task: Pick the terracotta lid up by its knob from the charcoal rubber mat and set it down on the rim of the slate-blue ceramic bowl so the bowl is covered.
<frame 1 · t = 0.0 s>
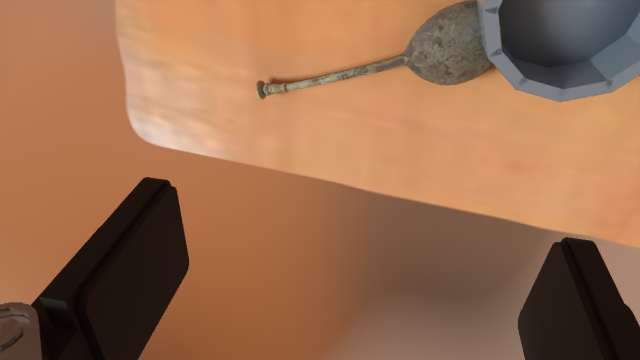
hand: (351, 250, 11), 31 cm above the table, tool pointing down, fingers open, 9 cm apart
soupspoon: (371, 59, 40), on the table, touching bowl
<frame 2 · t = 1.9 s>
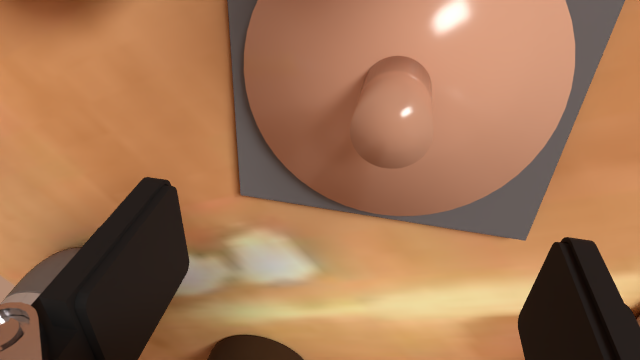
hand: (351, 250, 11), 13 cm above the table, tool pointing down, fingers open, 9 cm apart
mat: (398, 75, 22), on the table
lid: (397, 81, 22), point 1 cm above the table, touching mat
smart speaker: (107, 276, 37), on the table
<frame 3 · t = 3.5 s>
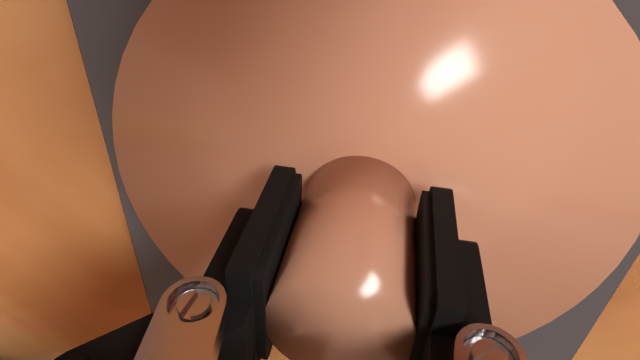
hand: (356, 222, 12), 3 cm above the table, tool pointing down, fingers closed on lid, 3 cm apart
mat: (365, 169, 14), on the table
lid: (362, 183, 14), point 1 cm above the table, touching gripper, mat
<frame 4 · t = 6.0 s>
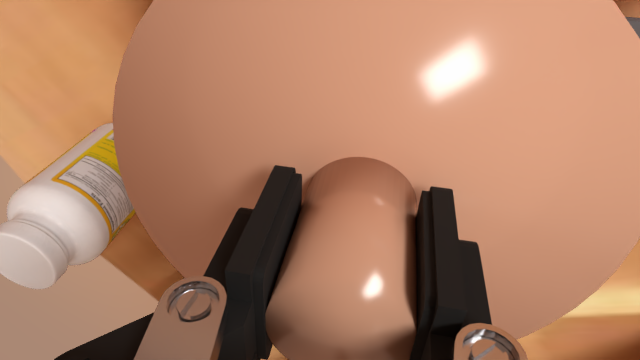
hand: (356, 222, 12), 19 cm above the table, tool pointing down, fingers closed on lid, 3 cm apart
supplement bottle: (132, 154, 37), on the table
lid: (363, 184, 14), point 17 cm above the table, touching gripper
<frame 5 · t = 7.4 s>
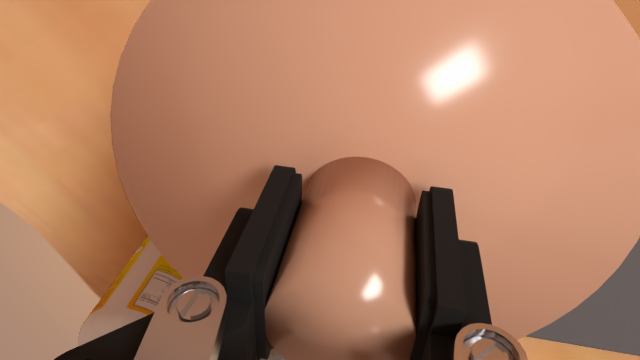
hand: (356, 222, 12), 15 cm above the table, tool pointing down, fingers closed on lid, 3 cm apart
mat: (604, 251, 29), on the table
supplement bottle: (191, 247, 36), on the table
lid: (362, 184, 14), point 13 cm above the table, touching gripper
when the fingers open (9 cm above the table, at t = 8.6 s): lid drops 1 cm, resting on bowl.
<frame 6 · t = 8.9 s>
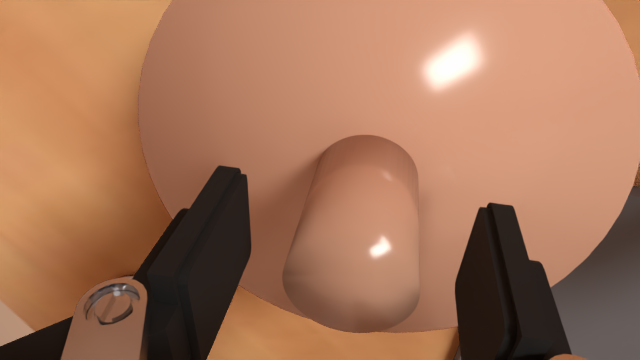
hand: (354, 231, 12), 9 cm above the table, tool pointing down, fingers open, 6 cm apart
mat: (638, 322, 24), on the table
lid: (368, 162, 15), point 5 cm above the table, touching bowl
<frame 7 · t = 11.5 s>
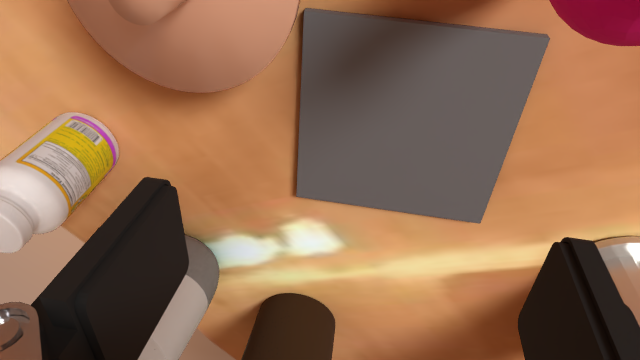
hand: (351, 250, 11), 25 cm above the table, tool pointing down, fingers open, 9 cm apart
mat: (402, 125, 37), on the table
supplement bottle: (90, 139, 43), on the table
olive oil: (296, 316, 54), on the table
smart speaker: (186, 253, 51), on the table
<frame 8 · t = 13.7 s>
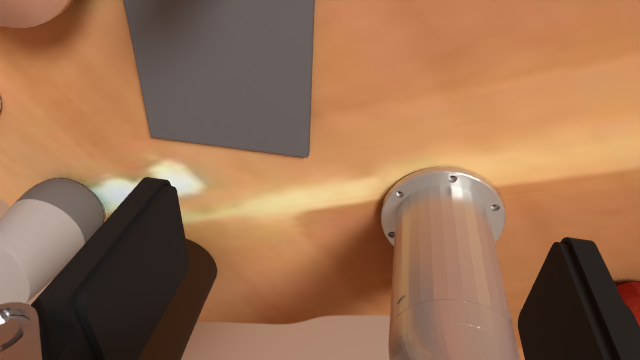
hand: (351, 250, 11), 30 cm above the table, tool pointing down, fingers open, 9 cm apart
apple: (629, 290, 49), on the table
mat: (223, 65, 42), on the table
olive oil: (183, 260, 59), on the table
smart speaker: (78, 199, 56), on the table
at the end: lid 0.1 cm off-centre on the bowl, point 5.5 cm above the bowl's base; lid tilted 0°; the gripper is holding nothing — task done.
